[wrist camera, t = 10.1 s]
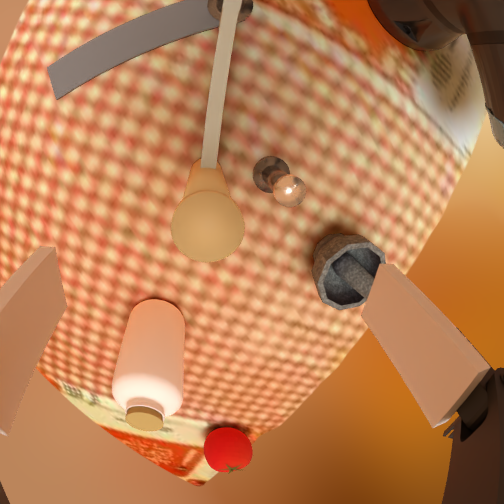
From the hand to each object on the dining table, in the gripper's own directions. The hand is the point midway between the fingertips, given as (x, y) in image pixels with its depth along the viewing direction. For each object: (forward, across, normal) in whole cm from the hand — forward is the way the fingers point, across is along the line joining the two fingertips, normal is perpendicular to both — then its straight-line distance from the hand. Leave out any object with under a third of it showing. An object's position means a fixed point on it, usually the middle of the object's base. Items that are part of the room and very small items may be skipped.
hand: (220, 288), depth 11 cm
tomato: (+25, +6, -56) cm, 62 cm away
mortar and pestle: (+25, +18, -10) cm, 33 cm away
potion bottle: (+25, -7, -22) cm, 34 cm away
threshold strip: (+25, -10, +16) cm, 31 cm away
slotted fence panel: (+24, 0, +8) cm, 25 cm away
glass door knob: (+25, +7, 0) cm, 26 cm away
